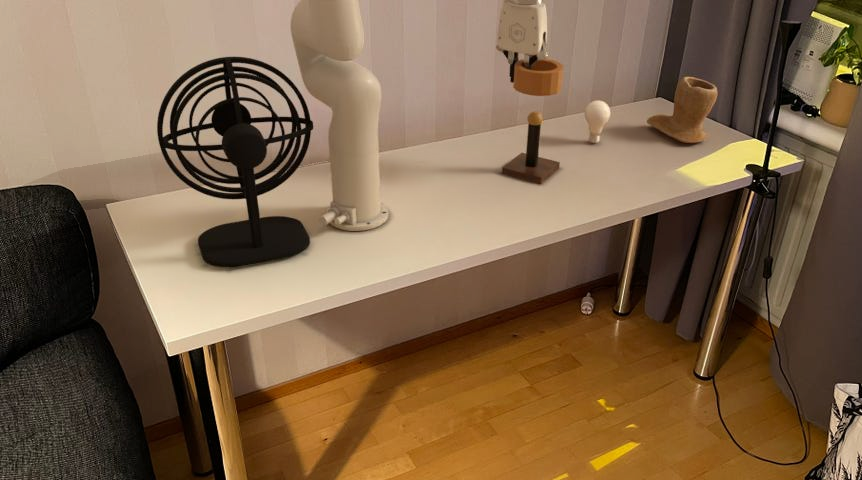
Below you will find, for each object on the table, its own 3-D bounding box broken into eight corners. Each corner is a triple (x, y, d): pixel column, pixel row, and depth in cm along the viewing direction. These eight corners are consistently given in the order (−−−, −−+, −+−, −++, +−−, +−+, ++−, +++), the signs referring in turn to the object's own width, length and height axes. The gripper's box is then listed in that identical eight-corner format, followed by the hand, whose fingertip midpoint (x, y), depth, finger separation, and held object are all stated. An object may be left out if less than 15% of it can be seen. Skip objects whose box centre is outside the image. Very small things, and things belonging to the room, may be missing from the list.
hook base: (541, 184, 177) (541, 177, 176) (501, 173, 181) (502, 167, 180) (559, 168, 184) (559, 162, 184) (521, 158, 188) (521, 152, 187)
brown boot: (717, 142, 202) (729, 85, 194) (682, 149, 197) (693, 91, 189) (678, 121, 213) (688, 67, 205) (644, 128, 208) (653, 72, 200)
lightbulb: (579, 145, 196) (583, 103, 190) (583, 136, 202) (588, 95, 196) (604, 149, 195) (609, 107, 189) (608, 140, 200) (613, 98, 194)
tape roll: (548, 99, 166) (550, 76, 163) (505, 89, 170) (506, 66, 167) (568, 85, 173) (571, 63, 171) (526, 76, 177) (528, 55, 175)
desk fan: (313, 210, 162) (298, 41, 143) (336, 251, 149) (324, 70, 130) (175, 233, 152) (140, 54, 133) (187, 279, 139) (151, 87, 120)
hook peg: (534, 168, 180) (539, 115, 173) (521, 165, 181) (525, 112, 174) (541, 163, 182) (545, 110, 175) (528, 160, 184) (532, 107, 177)
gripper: (483, -7, 164) (480, 79, 173) (552, 5, 157) (544, 94, 167) (500, -13, 169) (496, 70, 179) (567, -2, 163) (559, 84, 173)
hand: (519, 81), depth 173 cm, fingers closed on tape roll
